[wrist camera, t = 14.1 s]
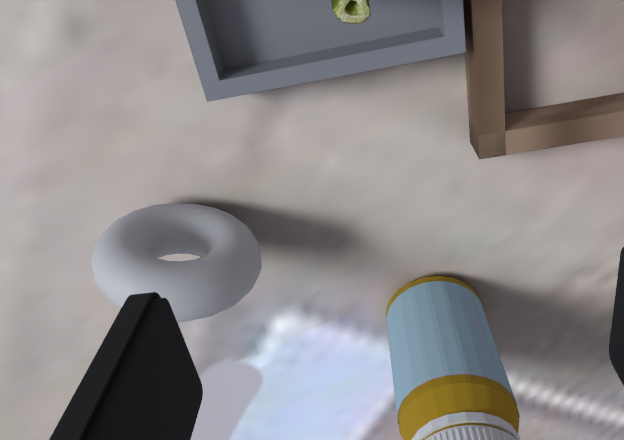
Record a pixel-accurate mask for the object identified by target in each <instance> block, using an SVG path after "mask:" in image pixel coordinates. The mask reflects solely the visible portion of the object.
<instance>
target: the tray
mask: <svg viewBox="0 0 624 440" xmlns="http://www.w3.org/2000/svg"><path fill="white" fill-rule="evenodd" d="M175 1H176V4H177V7H178V10H179V13H180V17H181V20H182V23H183V26H184V29H185V33H186V36H187V39H188V42H189V45H190V48H191V52H192V55H193V58H194V61H195V64H196V68H197V71H198V74H199V77H200V80H201V83H202V87H203V90H204V93H205V96H206V99H207V102H208V101H213V100H219V99H224V98H229V97H234V96H240V95H245V94H250V93H255V92H261V91H266V90H271V89H276V88H282V87H287V86H292V85H297V84H303V83H308V82H313V81H318V80H324V79H329V78H334V77H339V76H345V75H350V74H355V73H360V72H366V71H371V70H376V69H381V68H387V67H392V66H397V65H402V64H407V63H413V62H418V61H423V60H428V59H434V58H439V57H444V56H449V55H455V54H460V53H465V52H466V46H465V29H464V11H463V0H369V5H370V13H371V16H370V17H369V18H368V19H367V20H366V21H364V22H363V23H361V24H350V23H343V22H341V21H340V20H339V19H337V17H336V15H335V13H334V12H333V11H332V4H331V0H175Z"/></svg>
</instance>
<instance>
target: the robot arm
mask: <svg viewBox="0 0 624 440" xmlns="http://www.w3.org/2000/svg"><path fill="white" fill-rule="evenodd" d="M609 355H610V359H611V362H612V365H613V367H614V369H615V371H616V372H617V374H618V376H619V378H620V380H621V381H622V383H623V385H624V247H623V248H622V250H621V255H620V263H619V271H618V279H617V287H616V295H615V303H614V311H613V319H612V327H611V335H610V343H609ZM202 394H203V391H202V384H201V381H200V378H199V376H198V373H197V371H196V368H195V366H194V363H193V361H192V358H191V356H190V353H189V351H188V348H187V346H186V343H185V341H184V338H183V336H182V333H181V331H180V328H179V326H178V323H177V321H176V318H175V316H174V313H173V311H172V308H171V306H170V303H169V301H168V300H167V299H166V298H161V297H160V295H159V294H158V293H156V292H151V293H142V294H133V295H130V296H128V298H127V299H126V301H125V303H124V304H123V306H122V308H121V310H120V312H119V314H118V315H117V317H116V319H115V321H114V323H113V325H112V326H111V328H110V330H109V332H108V334H107V335H106V337H105V339H104V341H103V343H102V345H101V346H100V348H99V350H98V352H97V354H96V355H95V357H94V359H93V361H92V363H91V365H90V366H89V368H88V370H87V372H86V374H85V376H84V377H83V379H82V381H81V383H80V385H79V386H78V388H77V390H76V392H75V394H74V396H73V397H72V399H71V401H70V403H69V405H68V407H67V408H66V410H65V412H64V414H63V416H62V417H61V419H60V421H59V423H58V425H57V427H56V428H55V430H54V432H53V434H52V436H51V438H50V439H49V440H190V439H191V435H192V432H193V429H194V425H195V421H196V418H197V414H198V411H199V408H200V404H201V401H202Z"/></svg>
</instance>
